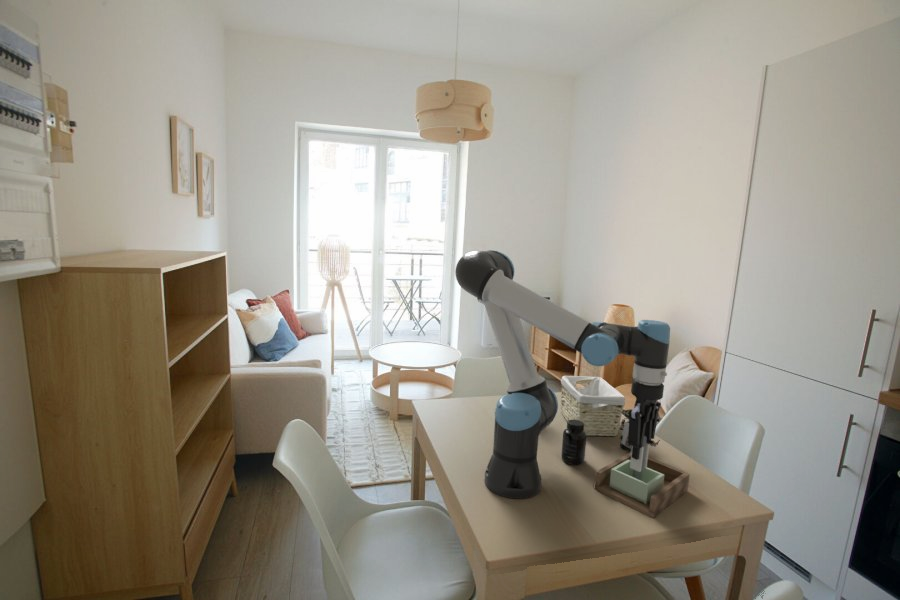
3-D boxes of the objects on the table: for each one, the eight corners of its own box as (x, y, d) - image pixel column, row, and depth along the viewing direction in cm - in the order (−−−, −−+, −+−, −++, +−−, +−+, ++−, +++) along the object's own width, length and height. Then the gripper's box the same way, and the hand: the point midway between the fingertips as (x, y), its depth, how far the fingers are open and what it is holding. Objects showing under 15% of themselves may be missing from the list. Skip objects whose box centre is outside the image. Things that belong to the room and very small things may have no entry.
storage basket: (556, 410, 179) (560, 374, 177) (597, 412, 179) (601, 375, 177) (575, 437, 155) (579, 395, 153) (623, 439, 156) (627, 397, 154)
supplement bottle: (565, 452, 143) (569, 415, 142) (587, 459, 140) (591, 422, 138) (557, 460, 138) (560, 422, 136) (579, 468, 134) (583, 429, 132)
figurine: (662, 462, 141) (668, 415, 138) (624, 459, 141) (630, 413, 139) (650, 448, 150) (655, 404, 147) (614, 446, 150) (619, 402, 148)
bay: (653, 518, 111) (655, 498, 111) (594, 488, 123) (596, 471, 122) (687, 491, 124) (689, 473, 124) (631, 467, 136) (633, 451, 136)
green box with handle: (646, 504, 115) (652, 448, 113) (609, 486, 122) (615, 434, 120) (662, 492, 121) (668, 439, 119) (626, 476, 128) (632, 426, 126)
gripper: (648, 390, 109) (638, 483, 113) (675, 379, 120) (665, 464, 123) (619, 382, 115) (609, 470, 118) (647, 372, 125) (638, 454, 128)
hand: (638, 467), depth 121 cm, fingers closed on green box with handle, 2 cm apart
